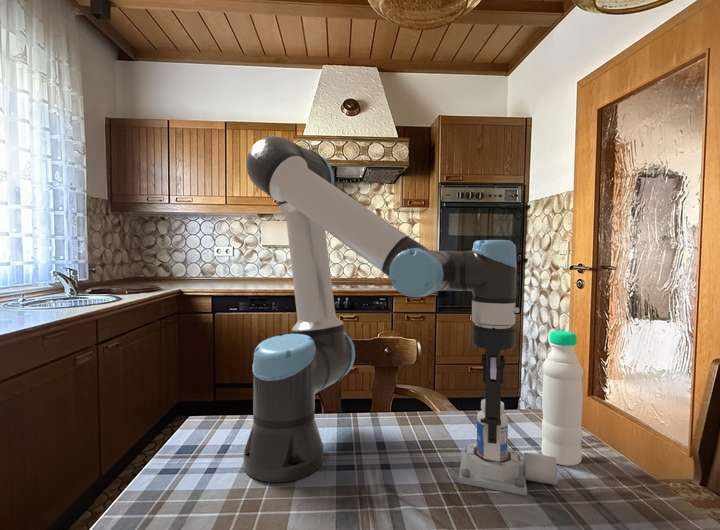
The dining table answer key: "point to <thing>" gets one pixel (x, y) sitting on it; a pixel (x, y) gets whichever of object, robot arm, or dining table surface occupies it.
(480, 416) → the pill bottle
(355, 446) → the dining table surface
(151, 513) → the dining table surface
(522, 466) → the fitting
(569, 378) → the water bottle
